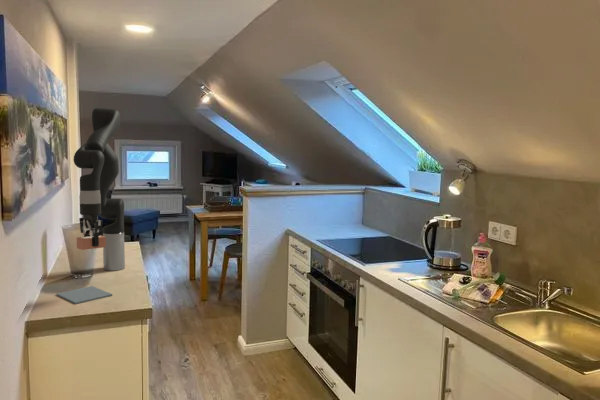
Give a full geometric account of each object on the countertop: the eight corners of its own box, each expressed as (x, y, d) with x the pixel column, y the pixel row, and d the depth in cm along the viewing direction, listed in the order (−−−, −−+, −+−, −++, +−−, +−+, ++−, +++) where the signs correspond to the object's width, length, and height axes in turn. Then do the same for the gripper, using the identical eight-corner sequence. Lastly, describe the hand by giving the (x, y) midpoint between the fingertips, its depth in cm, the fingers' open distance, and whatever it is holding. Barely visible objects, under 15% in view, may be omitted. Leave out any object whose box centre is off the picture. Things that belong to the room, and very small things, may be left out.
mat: (56, 295, 179) (56, 293, 179) (92, 287, 190) (92, 285, 190) (75, 304, 169) (75, 302, 169) (112, 295, 180) (112, 294, 180)
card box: (100, 245, 186) (100, 235, 186) (105, 247, 182) (105, 236, 182) (76, 247, 180) (76, 237, 180) (81, 249, 176) (81, 239, 176)
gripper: (109, 202, 178) (110, 246, 180) (90, 200, 187) (91, 242, 189) (89, 204, 172) (91, 249, 174) (71, 201, 182) (73, 244, 183)
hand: (91, 245), depth 181 cm, fingers closed on card box, 5 cm apart
